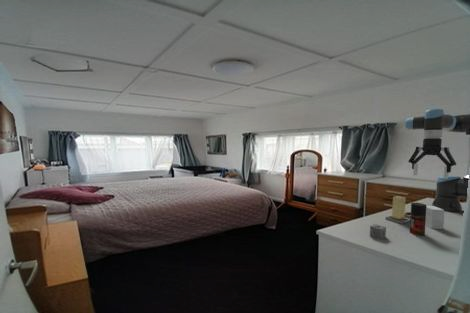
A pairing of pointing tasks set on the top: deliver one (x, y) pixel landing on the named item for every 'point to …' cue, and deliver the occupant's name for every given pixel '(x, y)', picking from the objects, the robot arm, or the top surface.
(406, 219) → the grey flat frame
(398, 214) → the tan wooden beam
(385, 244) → the top surface
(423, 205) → the deodorant
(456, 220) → the top surface
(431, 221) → the small box
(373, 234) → the dice cube
